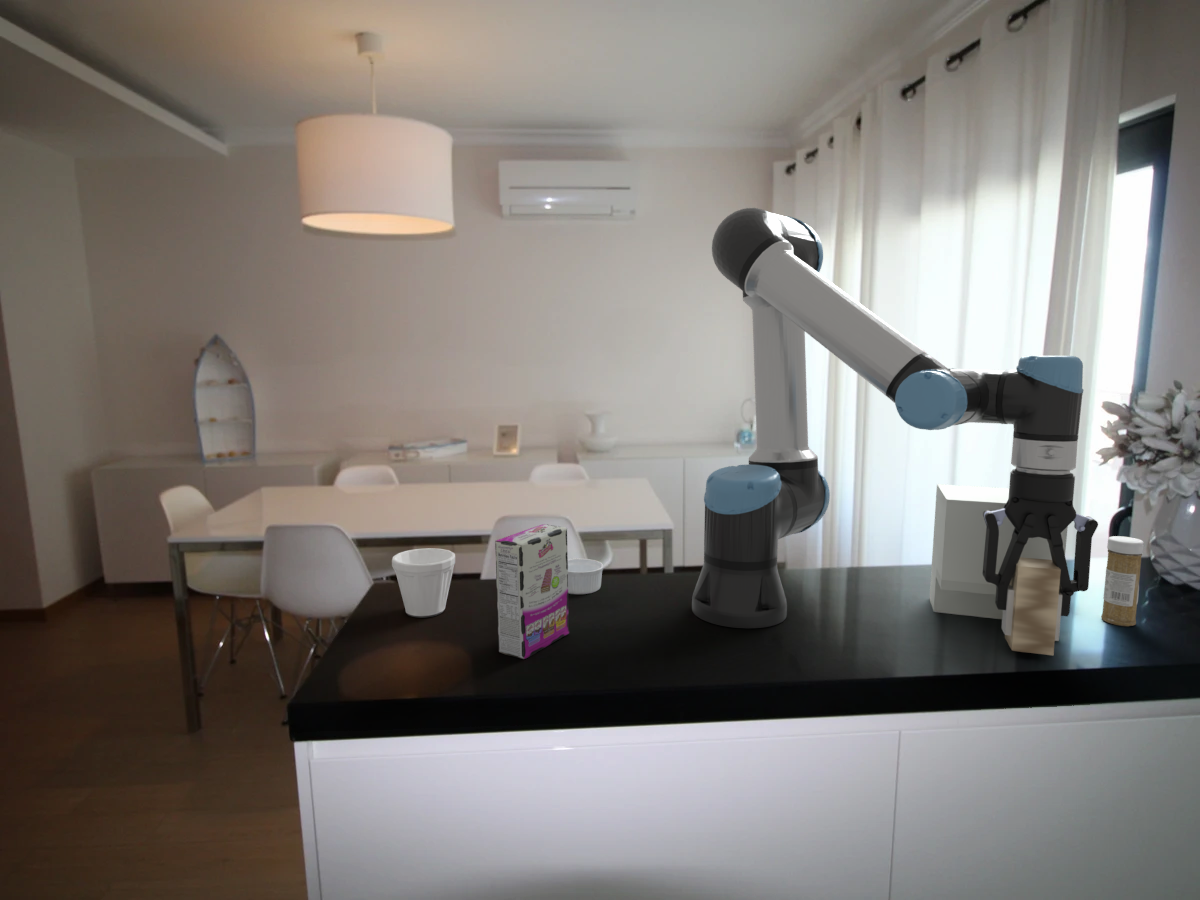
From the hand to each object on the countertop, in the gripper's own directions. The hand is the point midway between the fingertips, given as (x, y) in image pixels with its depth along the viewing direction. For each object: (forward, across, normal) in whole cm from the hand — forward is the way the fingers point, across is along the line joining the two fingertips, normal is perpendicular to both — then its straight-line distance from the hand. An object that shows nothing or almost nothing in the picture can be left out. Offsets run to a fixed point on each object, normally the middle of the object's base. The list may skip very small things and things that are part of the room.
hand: (1029, 634), depth 101 cm
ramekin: (+3, -70, +6) cm, 70 cm away
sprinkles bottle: (+3, +16, +19) cm, 25 cm away
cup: (+3, -89, -14) cm, 90 cm away
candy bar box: (+3, -67, -20) cm, 70 cm away
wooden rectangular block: (+2, 0, +5) cm, 5 cm away
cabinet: (+3, -3, +14) cm, 15 cm away
